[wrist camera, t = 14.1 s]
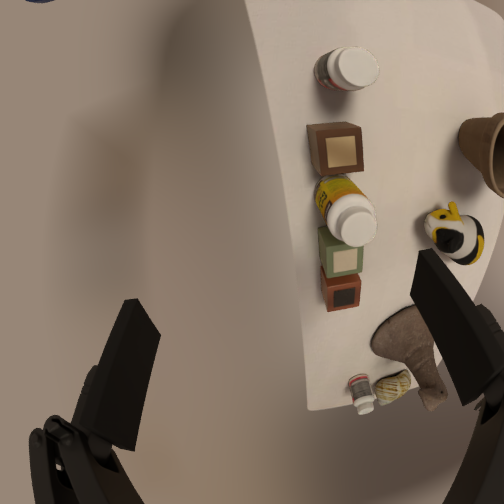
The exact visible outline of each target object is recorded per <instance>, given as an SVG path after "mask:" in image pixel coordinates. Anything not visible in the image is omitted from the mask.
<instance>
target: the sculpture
mask: <svg viewBox="0 0 504 504" xmlns="http://www.w3.org/2000/svg"><path fill="white" fill-rule="evenodd" d="M371 345H372V349H373V352H374V353H375V354H376V355H378V356H380V357H384V358H388V359H391V360H394V361H398V362H402V363H405V365H406V366H407V367H408V368H409V370H410V371H411V372H412V374H413V376H414V377H415V379H416V381H417V383H418V384H419V386H420V388H421V389H420V390H419V391H418V394H419V396H420V397H421V399H422V402H423V404H424V406H425V408H426V409H427V410H428V411H434V410H435V409H436V408H437V406H438V404H439V403H442V402H444V401H445V400H446V399H447V396H448V393H447V389H446V387H445V385H444V383H443V381H442V379H441V378H440V376H439V373H438V370H437V367H436V363H435V359H434V351H433V346H434V339H433V337H432V335H431V333H430V331H429V329H428V327H427V325H426V323H425V322H424V320H423V318H422V316H421V314H420V312H419V310H418V309H417V307H416V305H414V306H411V307H408V308H406V309H404V310H402V311H400V312H399V313H397V314H396V315H394V316H392V317H391V318H389V320H387V321H385V323H383V324H382V325H381V326H380V327H379V329H378V330H377V332H376V333H375V335H374V337H373V339H372V342H371Z"/></svg>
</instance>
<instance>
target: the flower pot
mask: <svg viewBox="0 0 504 504" xmlns="http://www.w3.org/2000/svg"><path fill="white" fill-rule="evenodd" d="M459 146H460V149H461V151H462V153H463V155H464V156H465V157H466V158H467V159H468V160H469V161H470V162H471V163H472V164H473V165H474V166H475V167H476V168H477V169H478V170H479V171H480V172H481V173H482V176H483V178H484V181H485V183H486V184H487V186H488V187H489V188H490V189H491V190H492V191H494V192H495V193H496V194H497V195H499V196H500V197H502V198H504V113H497V114H495V115H494V116H493V117H492V118H472V119H468V120H466V121H465V122H464V123H463V124H462V126H461V128H460V131H459Z"/></svg>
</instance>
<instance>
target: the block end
mask: <svg viewBox="0 0 504 504" xmlns="http://www.w3.org/2000/svg"><path fill="white" fill-rule="evenodd" d="M320 270H321V291H322V294H323V298H324V301H325V305H326V309H327V312H331V311H337V310H342V309H347V308H352V307H357V306H359V302H360V291H361V279H360V277H359V275H358V273H355V274H350V275H344V276H339V277H333V278H327V277H326V274H325V271H324V268H323V266H320Z"/></svg>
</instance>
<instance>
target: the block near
mask: <svg viewBox="0 0 504 504" xmlns="http://www.w3.org/2000/svg"><path fill="white" fill-rule="evenodd" d="M307 132H308V139H309V146H310V154H311V162H312V165H313V166H314V167H315V169H316V170H317V171H318V173H319V174H320V175H321V176H326V175H334V174H343V173H352V172H361V171H364V162H363V145H362V132H361V127H359V126H356V125H354V124H351V123H348V122H333V123H322V124H312V125H307Z"/></svg>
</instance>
